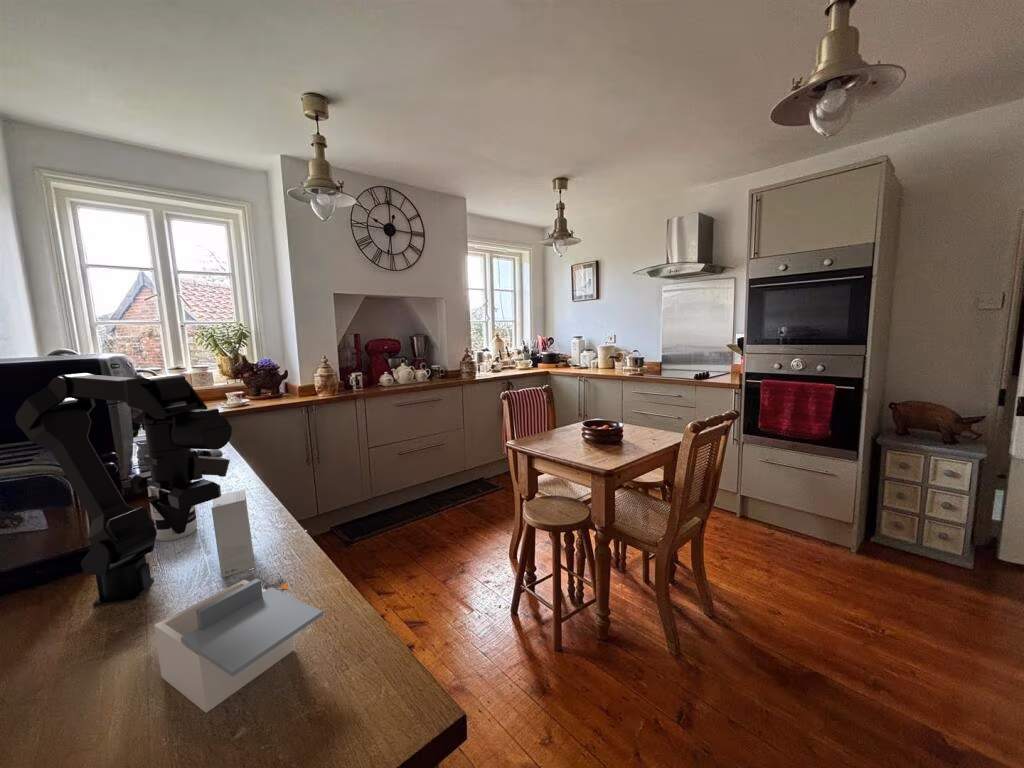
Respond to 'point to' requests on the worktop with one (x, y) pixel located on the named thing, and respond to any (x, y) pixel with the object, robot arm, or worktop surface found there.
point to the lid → (247, 625)
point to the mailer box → (204, 659)
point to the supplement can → (165, 530)
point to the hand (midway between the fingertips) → (180, 532)
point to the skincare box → (232, 533)
